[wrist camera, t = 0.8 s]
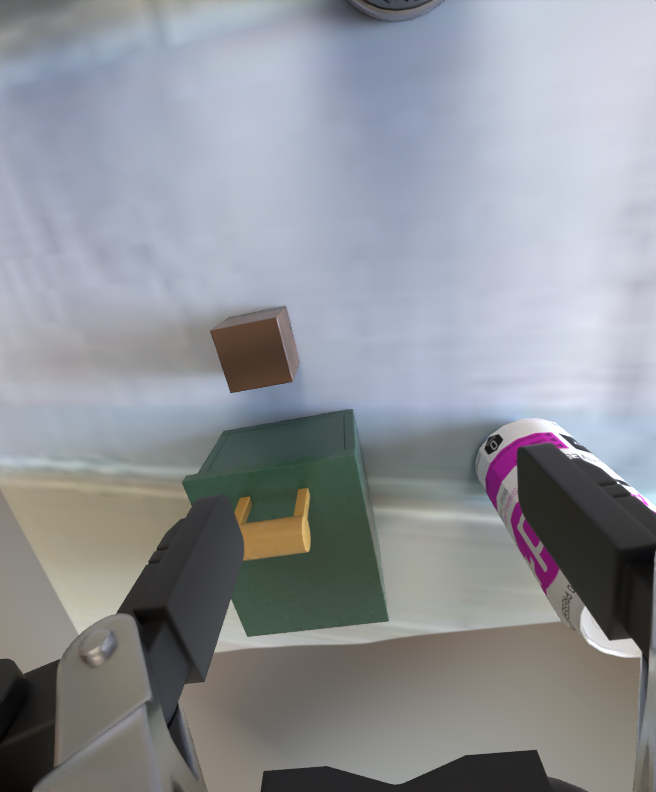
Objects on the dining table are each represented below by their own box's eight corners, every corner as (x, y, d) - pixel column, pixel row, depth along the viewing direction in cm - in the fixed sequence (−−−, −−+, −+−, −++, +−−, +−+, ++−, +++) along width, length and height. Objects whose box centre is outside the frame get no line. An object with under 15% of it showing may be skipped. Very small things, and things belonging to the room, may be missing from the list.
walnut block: (228, 317, 29) (209, 330, 24) (286, 305, 28) (276, 316, 24) (245, 372, 30) (230, 393, 26) (299, 362, 30) (293, 381, 26)
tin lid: (186, 475, 25) (146, 536, 20) (354, 448, 24) (358, 505, 19) (249, 627, 31) (231, 705, 26) (387, 612, 30) (398, 690, 24)
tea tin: (223, 431, 33) (190, 484, 25) (352, 408, 31) (356, 458, 24) (266, 554, 38) (249, 626, 31) (378, 539, 37) (387, 611, 30)
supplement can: (462, 489, 34) (545, 656, 20) (487, 409, 31) (605, 543, 17) (548, 498, 34) (689, 672, 20) (582, 419, 31) (775, 561, 17)
